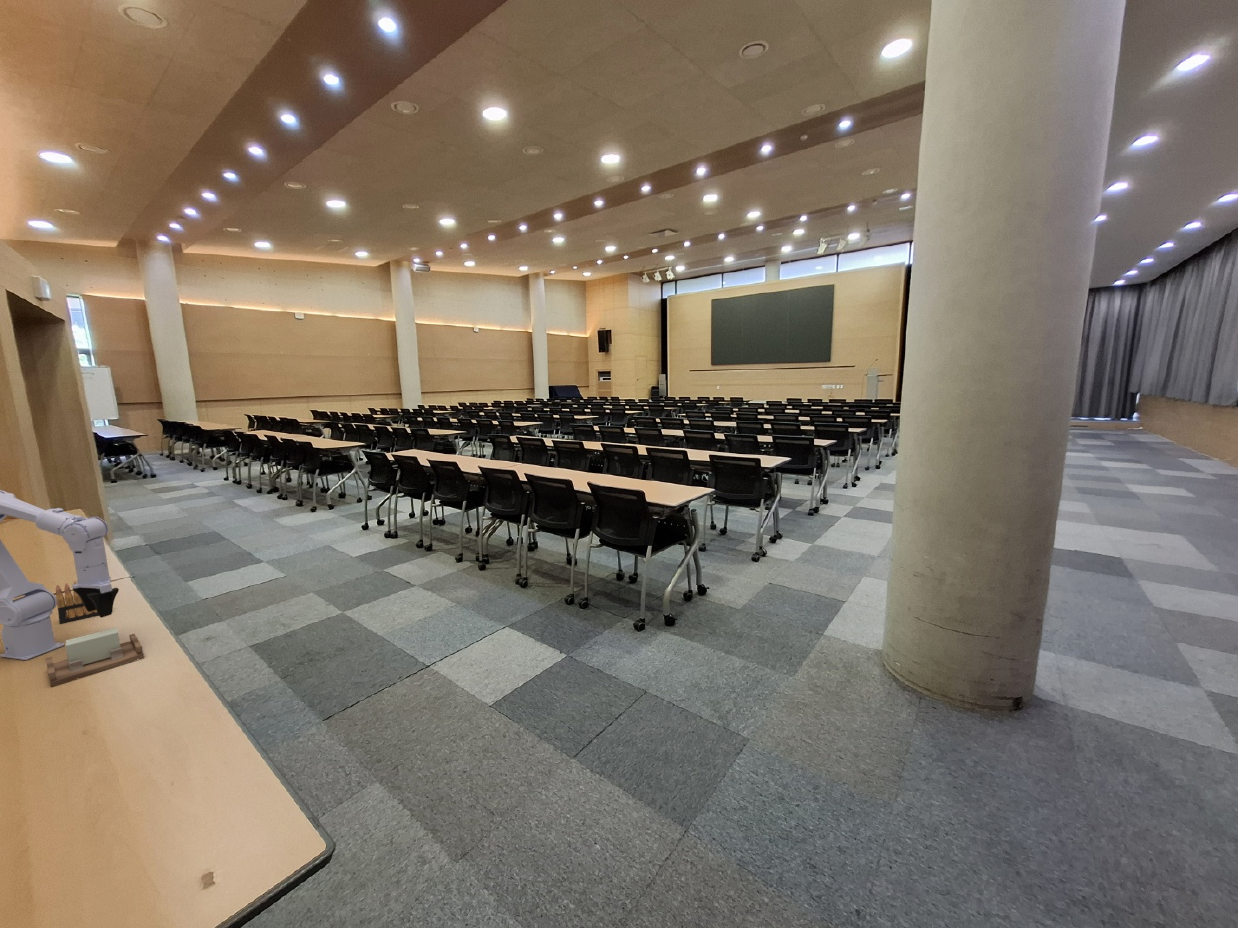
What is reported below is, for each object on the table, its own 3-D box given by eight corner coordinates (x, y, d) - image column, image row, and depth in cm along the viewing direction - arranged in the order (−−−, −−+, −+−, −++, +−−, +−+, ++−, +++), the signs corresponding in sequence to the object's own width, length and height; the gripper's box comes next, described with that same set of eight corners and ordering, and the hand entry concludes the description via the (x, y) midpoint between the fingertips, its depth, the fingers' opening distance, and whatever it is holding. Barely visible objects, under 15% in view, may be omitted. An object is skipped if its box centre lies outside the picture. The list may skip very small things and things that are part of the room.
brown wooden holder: (47, 669, 123) (45, 656, 122) (135, 643, 135) (133, 631, 135) (51, 687, 116) (48, 673, 115) (144, 658, 128) (142, 645, 128)
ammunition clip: (59, 624, 147) (52, 586, 146) (60, 622, 149) (52, 584, 147) (110, 612, 155) (104, 576, 153) (110, 611, 156) (104, 575, 154)
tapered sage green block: (70, 662, 123) (65, 640, 123) (120, 648, 130) (117, 627, 129) (69, 668, 121) (65, 645, 120) (121, 654, 127) (117, 632, 126)
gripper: (58, 564, 129) (67, 613, 131) (81, 573, 123) (90, 624, 125) (95, 556, 135) (103, 603, 137) (119, 564, 129) (127, 613, 131)
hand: (99, 612), depth 131 cm, fingers open, 7 cm apart
